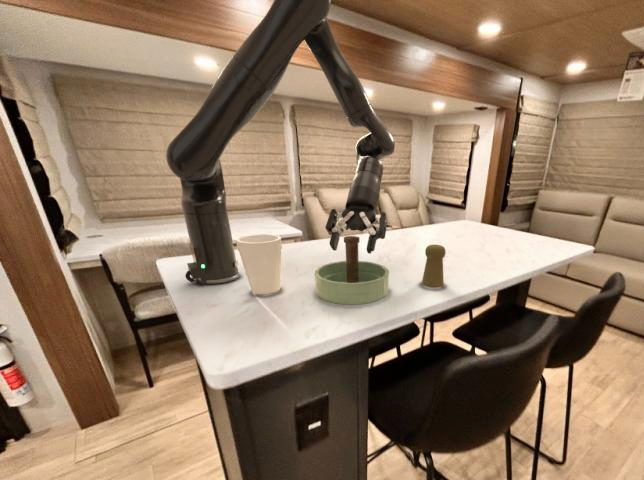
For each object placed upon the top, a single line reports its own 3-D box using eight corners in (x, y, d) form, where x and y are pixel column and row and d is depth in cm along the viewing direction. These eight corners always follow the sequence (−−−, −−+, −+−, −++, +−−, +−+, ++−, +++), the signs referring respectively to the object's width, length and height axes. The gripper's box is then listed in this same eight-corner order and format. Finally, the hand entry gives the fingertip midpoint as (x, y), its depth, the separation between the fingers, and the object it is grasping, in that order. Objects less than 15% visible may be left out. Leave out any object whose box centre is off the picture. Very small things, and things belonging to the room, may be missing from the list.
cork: (442, 290, 80) (447, 249, 76) (419, 288, 81) (422, 247, 77) (444, 283, 85) (448, 243, 81) (422, 280, 86) (425, 241, 82)
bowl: (339, 313, 65) (338, 289, 63) (304, 288, 78) (302, 267, 75) (402, 295, 76) (403, 274, 74) (363, 276, 88) (363, 257, 86)
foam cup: (295, 288, 78) (289, 236, 73) (269, 301, 70) (261, 244, 64) (264, 282, 80) (257, 232, 75) (236, 295, 72) (226, 240, 67)
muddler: (349, 294, 74) (348, 240, 69) (340, 288, 77) (338, 236, 72) (365, 290, 76) (364, 238, 71) (355, 285, 79) (354, 235, 74)
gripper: (332, 182, 75) (316, 239, 69) (389, 185, 73) (378, 243, 67) (340, 203, 82) (326, 255, 76) (393, 206, 80) (383, 260, 74)
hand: (351, 250), depth 72 cm, fingers open, 8 cm apart
